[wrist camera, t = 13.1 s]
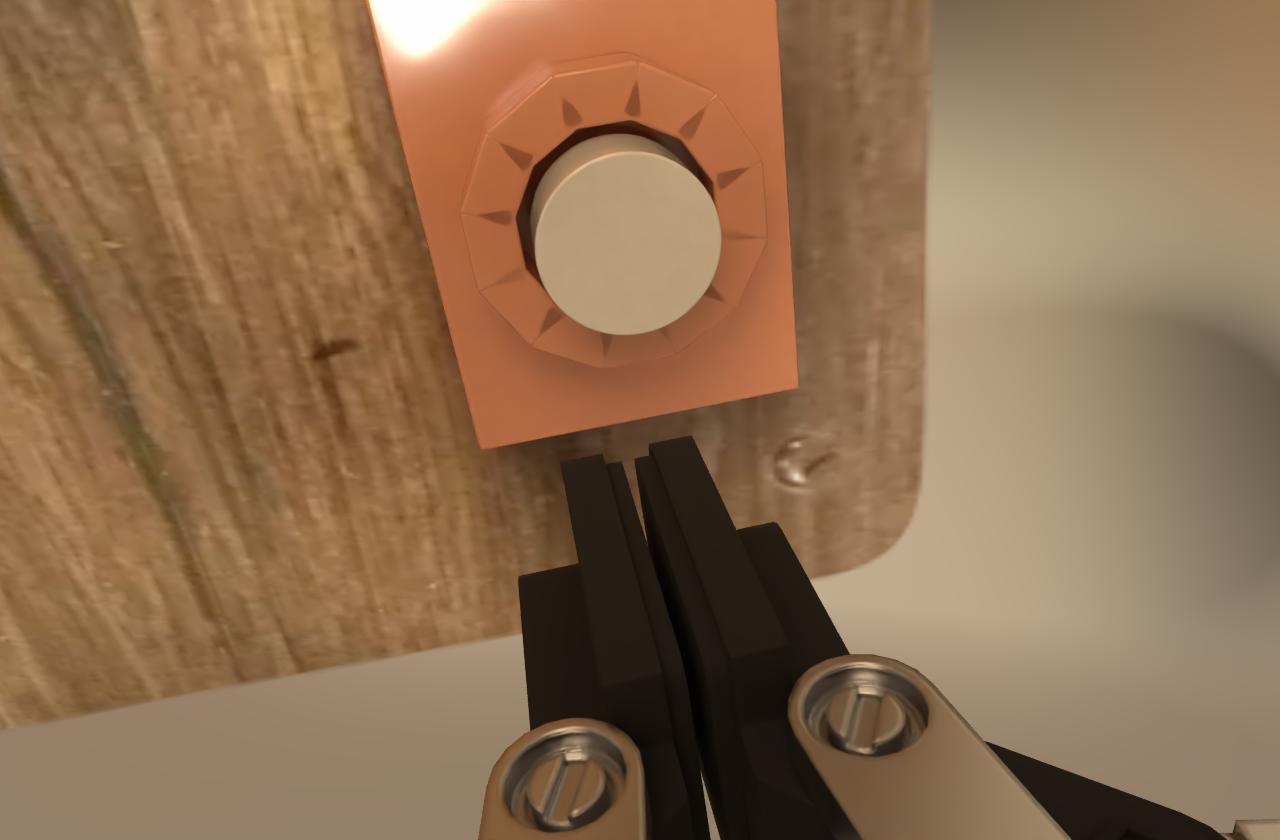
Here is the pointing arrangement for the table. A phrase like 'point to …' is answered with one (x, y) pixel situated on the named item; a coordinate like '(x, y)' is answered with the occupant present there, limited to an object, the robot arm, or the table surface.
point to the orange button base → (536, 137)
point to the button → (624, 235)
